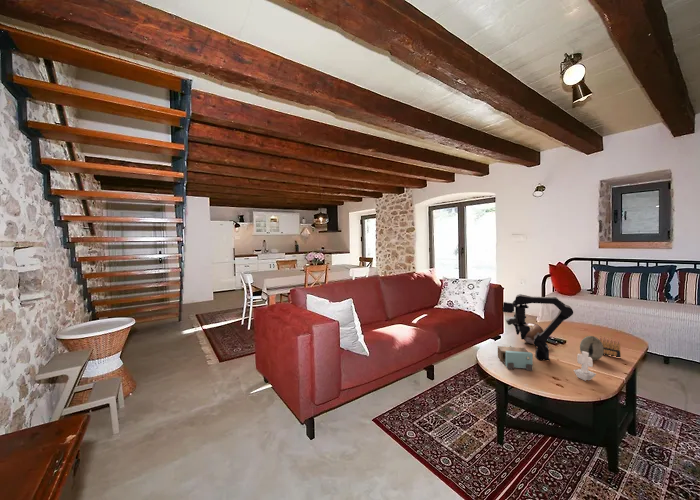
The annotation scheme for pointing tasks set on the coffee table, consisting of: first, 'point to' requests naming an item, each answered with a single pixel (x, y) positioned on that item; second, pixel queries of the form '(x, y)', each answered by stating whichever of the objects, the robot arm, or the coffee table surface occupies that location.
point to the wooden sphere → (532, 332)
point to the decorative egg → (592, 347)
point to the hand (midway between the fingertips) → (519, 336)
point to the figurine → (584, 366)
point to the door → (519, 358)
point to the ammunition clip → (611, 347)
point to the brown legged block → (503, 350)
